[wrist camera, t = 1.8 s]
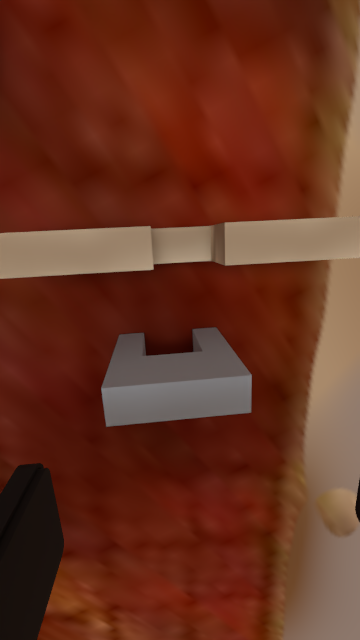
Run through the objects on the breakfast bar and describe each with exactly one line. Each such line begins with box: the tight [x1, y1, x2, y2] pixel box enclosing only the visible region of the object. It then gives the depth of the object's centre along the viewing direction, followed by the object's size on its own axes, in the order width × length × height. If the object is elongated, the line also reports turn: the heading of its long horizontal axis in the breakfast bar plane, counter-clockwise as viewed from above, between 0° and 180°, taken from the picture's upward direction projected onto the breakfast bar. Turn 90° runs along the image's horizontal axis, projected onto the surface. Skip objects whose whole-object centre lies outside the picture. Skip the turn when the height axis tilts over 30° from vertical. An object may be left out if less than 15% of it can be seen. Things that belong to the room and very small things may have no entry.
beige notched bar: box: [0, 216, 360, 279], centre depth 17 cm, size 2×18×6 cm, turn 93°
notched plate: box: [101, 327, 252, 427], centre depth 18 cm, size 2×7×8 cm, turn 93°
